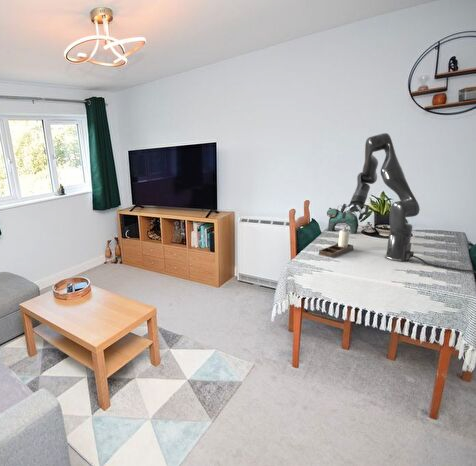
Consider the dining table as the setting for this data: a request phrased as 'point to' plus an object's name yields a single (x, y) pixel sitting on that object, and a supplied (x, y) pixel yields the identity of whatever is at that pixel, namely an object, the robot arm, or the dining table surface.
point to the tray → (335, 250)
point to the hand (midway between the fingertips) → (351, 218)
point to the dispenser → (343, 237)
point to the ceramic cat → (342, 220)
